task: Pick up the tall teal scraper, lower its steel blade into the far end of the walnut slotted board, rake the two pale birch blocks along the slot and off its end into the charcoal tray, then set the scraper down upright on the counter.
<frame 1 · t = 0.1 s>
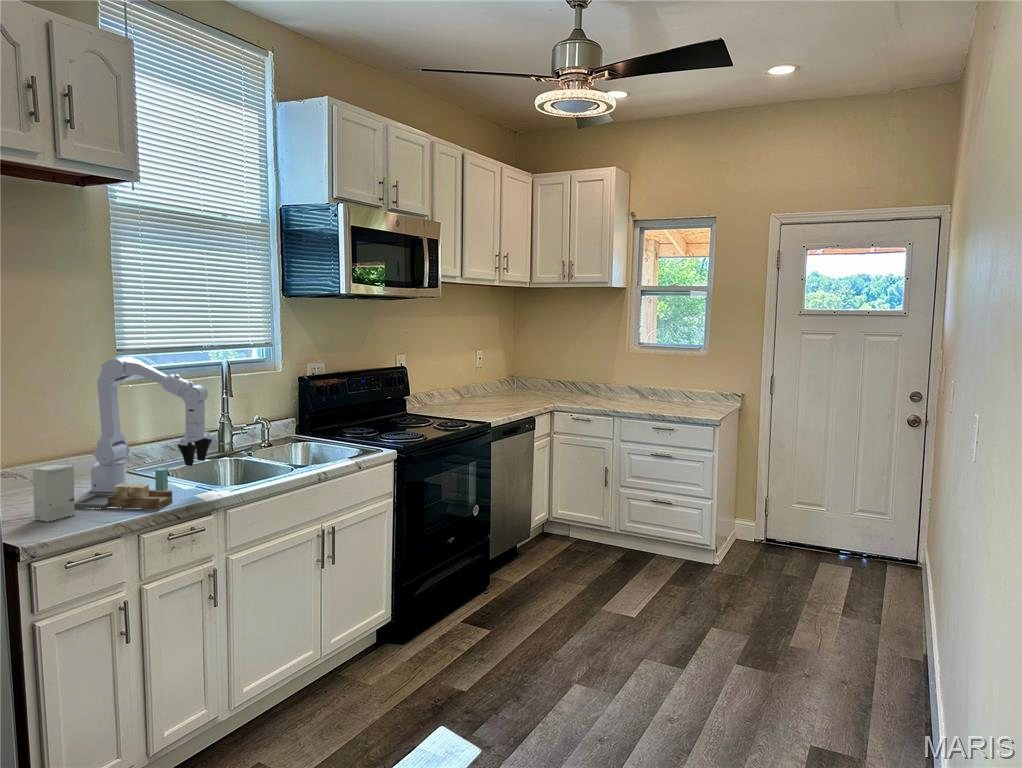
hand: (195, 463, 226), 10 cm above the countertop, tool pointing down, fingers open, 7 cm apart
near block: (124, 498, 211), point 2 cm above the countertop, touching slot board
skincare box: (55, 518, 197), on the countertop
far block: (139, 498, 211), point 2 cm above the countertop, touching slot board
slot board: (140, 504, 212), on the countertop
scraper: (161, 496, 222), on the countertop
chip tray: (100, 503, 211), on the countertop
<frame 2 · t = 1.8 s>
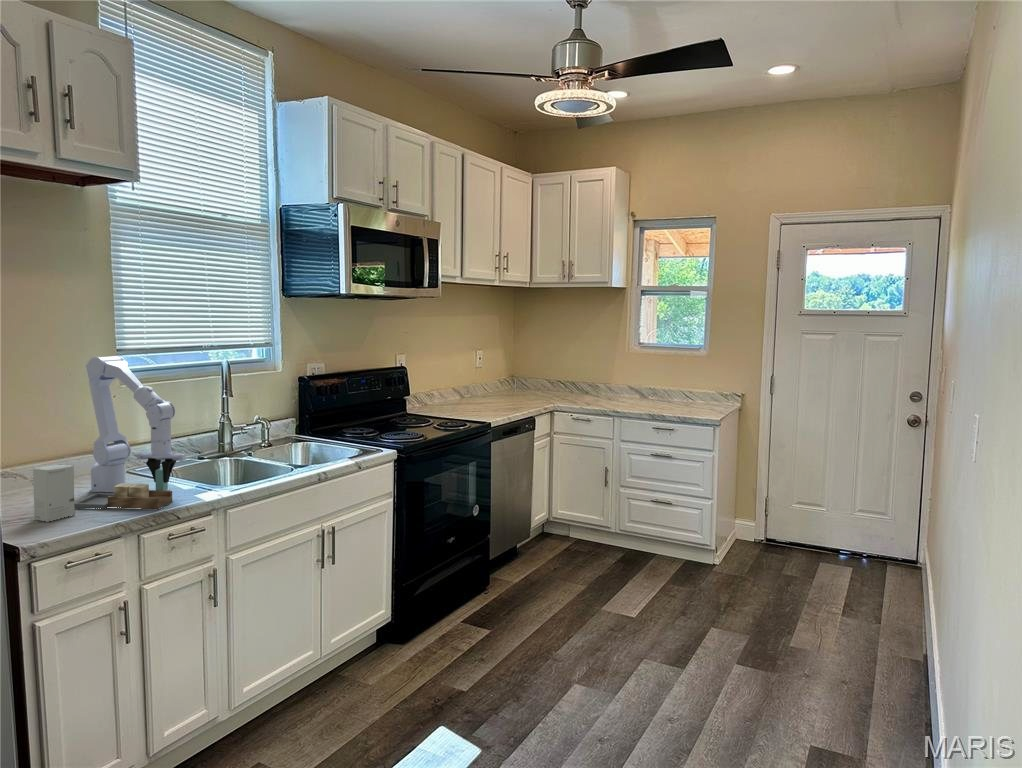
hand: (161, 481, 221), 5 cm above the countertop, tool pointing down, fingers closed on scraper, 2 cm apart
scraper: (161, 496, 222), on the countertop, touching gripper
everything else where it was.
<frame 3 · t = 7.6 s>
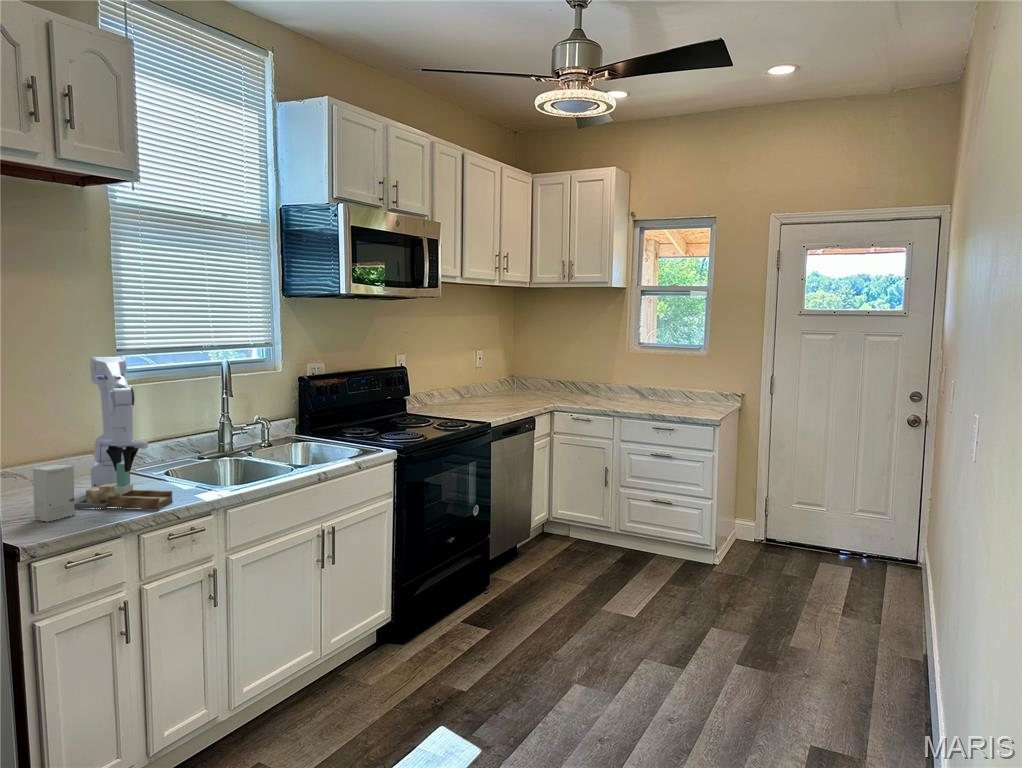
hand: (123, 470, 211), 10 cm above the countertop, tool pointing down, fingers closed on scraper, 2 cm apart
near block: (103, 495, 211), point 3 cm above the countertop, tilted 92°, touching chip tray, far block
far block: (110, 497, 212), point 2 cm above the countertop, tilted 5°, touching near block, slot board
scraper: (123, 491, 212), point 4 cm above the countertop, touching gripper
everything else where it was.
when the fingers open (5 cm above the countertop, at t = 9.4 s): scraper stays where it is, on the countertop.
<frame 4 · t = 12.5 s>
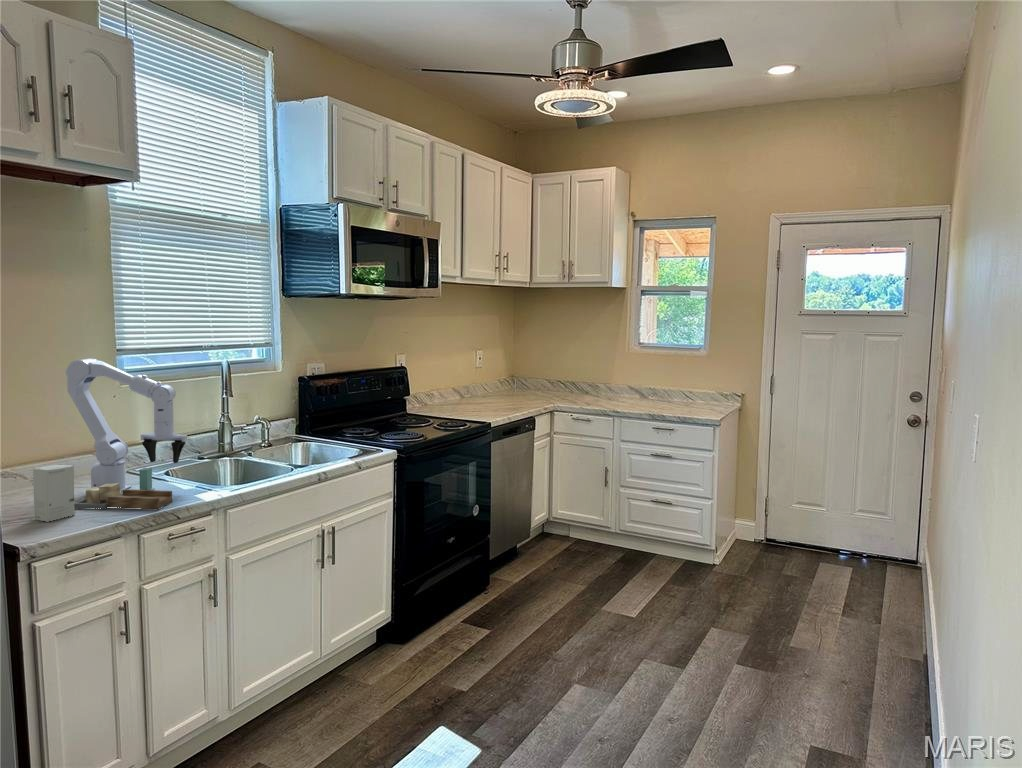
hand: (164, 462, 229), 9 cm above the countertop, tool pointing down, fingers open, 7 cm apart
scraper: (146, 496, 221), on the countertop
everything else where it was.
at the end: near block inside the target area on the chip tray (0.9 cm from its centre), point 2.7 cm above the chip tray's base; far block inside the target area on the chip tray (3.1 cm from its centre), point 1.8 cm above the chip tray's base; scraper tilted 0° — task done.
